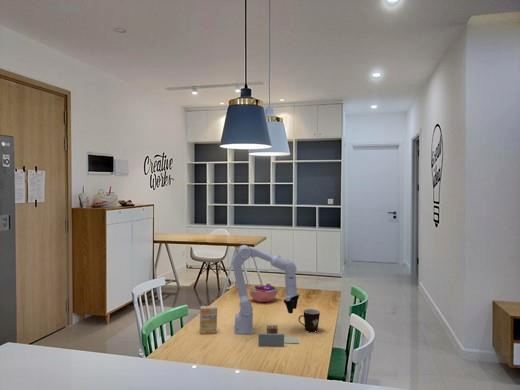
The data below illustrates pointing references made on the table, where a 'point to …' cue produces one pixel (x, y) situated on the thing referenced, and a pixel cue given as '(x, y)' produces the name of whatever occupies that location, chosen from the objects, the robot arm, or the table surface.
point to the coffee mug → (311, 319)
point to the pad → (291, 340)
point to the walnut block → (272, 329)
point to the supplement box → (208, 319)
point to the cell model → (263, 293)
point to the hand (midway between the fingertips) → (292, 310)
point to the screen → (271, 340)
